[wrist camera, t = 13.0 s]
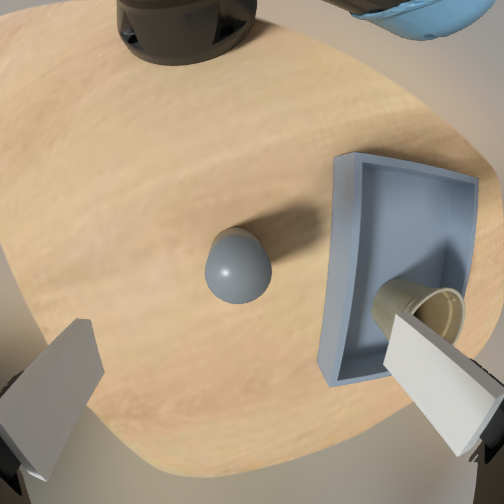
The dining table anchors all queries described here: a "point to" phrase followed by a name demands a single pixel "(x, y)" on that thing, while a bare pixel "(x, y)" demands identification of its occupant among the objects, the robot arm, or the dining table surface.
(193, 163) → the dining table surface
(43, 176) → the dining table surface
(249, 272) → the canister
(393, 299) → the flower pot
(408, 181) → the tote
